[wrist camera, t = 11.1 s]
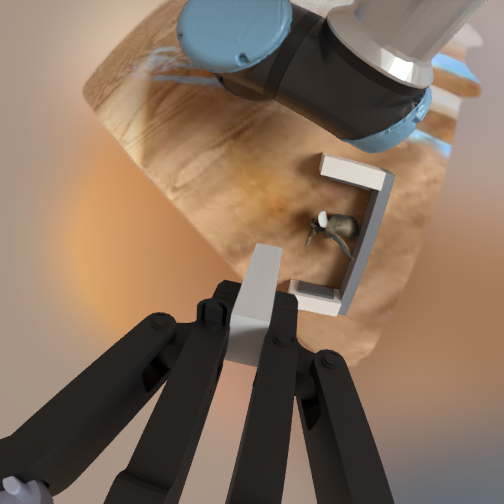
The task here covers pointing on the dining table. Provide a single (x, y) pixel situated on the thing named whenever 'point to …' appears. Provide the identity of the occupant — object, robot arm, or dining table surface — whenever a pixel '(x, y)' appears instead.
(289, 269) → the dining table surface
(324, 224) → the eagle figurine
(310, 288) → the rail
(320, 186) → the dining table surface
